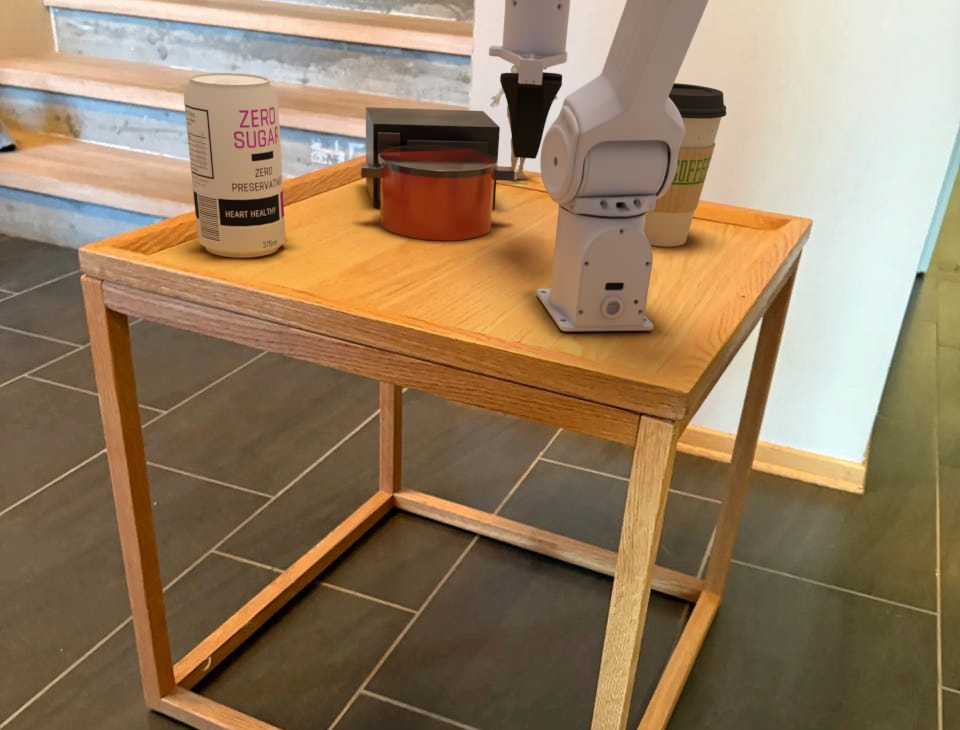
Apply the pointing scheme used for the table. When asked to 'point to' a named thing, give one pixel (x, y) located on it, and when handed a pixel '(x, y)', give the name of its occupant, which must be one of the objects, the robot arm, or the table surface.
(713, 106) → the coffee cup
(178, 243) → the table surface
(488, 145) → the mini oven
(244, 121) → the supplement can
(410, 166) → the pot
